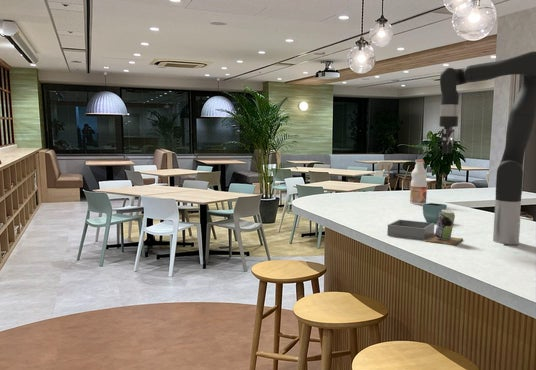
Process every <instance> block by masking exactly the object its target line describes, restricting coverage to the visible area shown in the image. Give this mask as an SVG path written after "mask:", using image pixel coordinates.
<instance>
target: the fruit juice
mask: <svg viewBox="0 0 536 370" xmlns="http://www.w3.org/2000/svg"><path fill="white" fill-rule="evenodd" d="M424 162H425V160H424V159H415V166H414V169H412V171H411V175H410V176H411V181H410V188H409V189H410V193H409V204H410V205H415V206H422V204H427V193H428V191H427V190H428V181H427V177H428V172H427V171H426V169H425V166H424Z"/></svg>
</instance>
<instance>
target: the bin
mask: <svg viewBox="0 0 536 370" xmlns="http://www.w3.org/2000/svg"><path fill="white" fill-rule="evenodd" d="M386 233H387V235H386V236H390V237H399V238H400V237H401V238H406V239H407V238H408V239H416V240H423V241H424V240H426V239H428V238H429V237H431V236H432V235H435V223H432V222H427V221H425V222H424V221H418V220H407V219H397V220H395V221H393V222H391V223H389V224H387V232H386Z"/></svg>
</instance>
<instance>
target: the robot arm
mask: <svg viewBox="0 0 536 370" xmlns="http://www.w3.org/2000/svg"><path fill="white" fill-rule="evenodd" d="M511 75H522V76H521V77H522V79H521V85H520V89H519V91H518V94H517V96H516V98H515V100H514V102H513V104H512V106H511V108H510V109H511V110H510V112H509V116H508V120H507V125H506V126H507V127H506V134H505V147H504V151H503V153H502V157H501V159H500V163H499V165H498V167H497V169H496V175H495V176H496V179H495V198H494V199H495V200H494V214H493V215H494V218H493V232H492V233H493V236H492V237H493V238H492V241H493V243H494V242H495V243H498V244H504V245H510V246H511V245H516V246H518V244H519V243H520V235H521V234H520V233H521V232H520V231H521V230H520V228H521V205H522V194H523V180H524V179H523V177H524V169H523V167H524V157H525V152H526V149H527V146H528V143H529V140H530V138H531V135H532V133H533V129H534V127H535V123H536V51H529V52H525V53H524V54H523V53H522V54H519V55H516V56H513V57H510V58H506V59H505V58H504V59H500V60H498V61H497V60H496V61H490V62H484V63H483V62H482V63H477V64H470V65H467V66H466V67H462V68H453V67H446V68H444V69H443V70H442V72H440V76H439V85H440V92H441V97H440V98H441V99H440V101H441V102H440V110H439V122H438V123H439V124H438V125H439V127H443V128H442V129H441V135H440V136H441V137H440V138H441V139H440V143H441V145H442V146H441V147H442V149H441V153H442V154H443V155H444V154H452V152H453V144H454V143H455V129H453V128H456V127H458V126H459V111H460V110H459V109H460V108H459V103H460V102H459V99H460V94H459V92H458V90H457V86H460V85H464V84H468V83H477V82H482V81H483V82H484V81H489V80H493V79H495V78H499V77H503V76H511Z"/></svg>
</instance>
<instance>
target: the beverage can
mask: <svg viewBox="0 0 536 370" xmlns="http://www.w3.org/2000/svg"><path fill="white" fill-rule="evenodd" d="M455 217H456V215H455V212H454V211H452V210H449V209H446V210H441V212H440V213H439V217H438V222H437V223H436V229H435V231H434V235H435V236H437V238H439V239H442V240H448V239H450V238H451V237H452V232H453V227H454V223H455Z"/></svg>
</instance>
